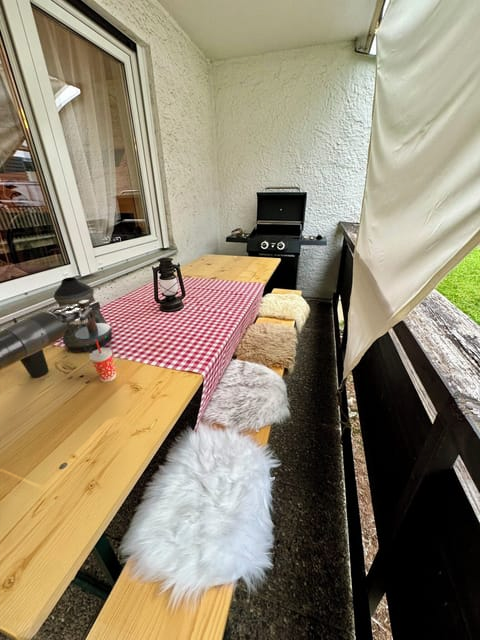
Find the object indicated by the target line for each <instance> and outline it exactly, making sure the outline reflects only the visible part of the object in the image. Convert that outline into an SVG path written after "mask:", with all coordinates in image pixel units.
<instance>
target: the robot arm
mask: <svg viewBox="0 0 480 640" xmlns="http://www.w3.org/2000/svg"><path fill="white" fill-rule="evenodd" d="M89 303H90V304H89V305H87V306H85V307H83V308H80V305H79V304H78V305H72V306H70V305H65V306H61V307H59V306H58V307H53V308H50V309H46V310H43V311H39V312H37V313H35V314H33V315H30V316H28V317H26V318H24V319H21V320H18V321H17V323H14V322H13V323H12V324H11V325H9V326H7V327H6V328H4V329H1V330H0V372H1V371H2V370H4V369H7V368H9V367H10V366H13V365H15V364H16V363H18V362H21V361H20V360H21V359H23V358H25V357H27V356H29V355H32V354H34V353H36V352H38V351H40V350H42V349H43V350H44V349H45V348H47V347H49V346H50V345H53V344H54V343H56V342H57V341H59V340H61V339H63V336H64V334H65V331H66V329H69V328H72V327H74V326H75V325H76V324H82V327H86V326H88V324H89V323H90V322H91V320H92V319H93V318H94V314H93V312H95V311H96V310H98V309H101V304H100V301H96V300H95V302H93V303H91V301H90V300H89ZM82 311H85V312H84V313H83V314H82Z"/></svg>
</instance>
